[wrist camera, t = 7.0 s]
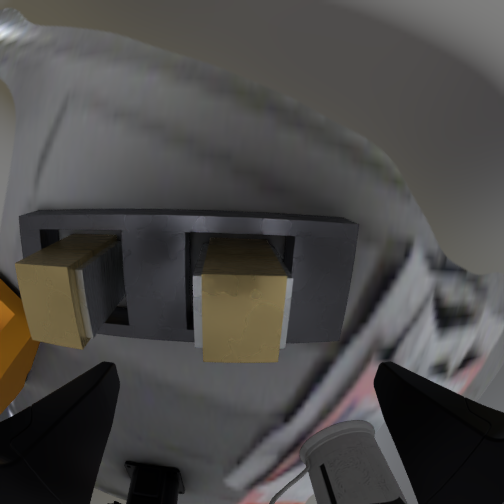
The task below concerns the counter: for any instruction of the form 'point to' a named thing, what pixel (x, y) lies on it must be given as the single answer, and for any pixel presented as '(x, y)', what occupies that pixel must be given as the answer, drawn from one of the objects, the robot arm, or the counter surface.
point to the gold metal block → (241, 301)
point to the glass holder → (347, 467)
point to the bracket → (13, 346)
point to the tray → (178, 264)
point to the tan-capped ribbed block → (71, 288)
